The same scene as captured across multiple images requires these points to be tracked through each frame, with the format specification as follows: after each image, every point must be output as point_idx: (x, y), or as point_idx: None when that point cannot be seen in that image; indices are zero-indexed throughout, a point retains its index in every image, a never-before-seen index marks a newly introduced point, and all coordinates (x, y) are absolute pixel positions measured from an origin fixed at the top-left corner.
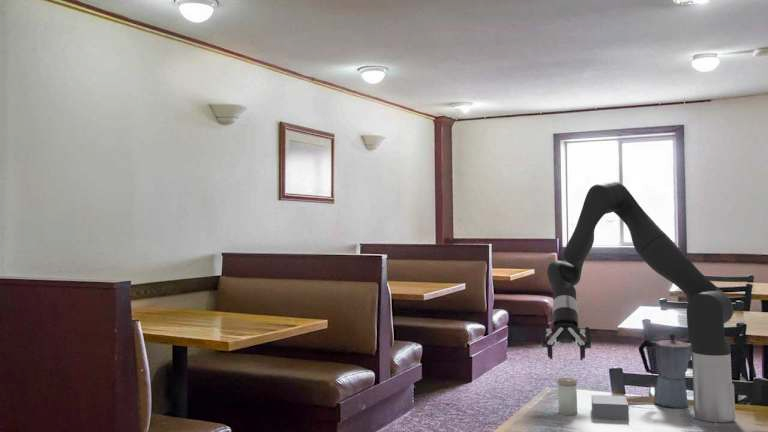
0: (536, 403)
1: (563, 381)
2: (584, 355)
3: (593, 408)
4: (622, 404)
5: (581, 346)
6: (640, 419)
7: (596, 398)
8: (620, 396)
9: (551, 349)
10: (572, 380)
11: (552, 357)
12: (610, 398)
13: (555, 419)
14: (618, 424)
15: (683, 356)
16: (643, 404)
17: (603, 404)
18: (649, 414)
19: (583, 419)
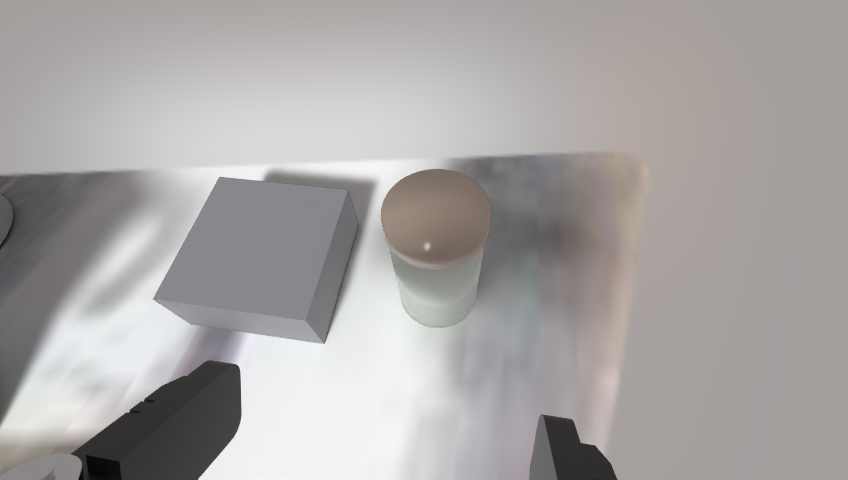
0: None
1: (459, 182)
2: (182, 377)
3: (350, 201)
4: (239, 179)
5: (107, 449)
6: None
7: (305, 258)
8: (179, 292)
9: (568, 474)
10: (405, 203)
11: (533, 476)
12: (242, 259)
13: (495, 210)
14: (299, 171)
15: None
16: (43, 438)
17: (308, 187)
18: (131, 276)
19: None
